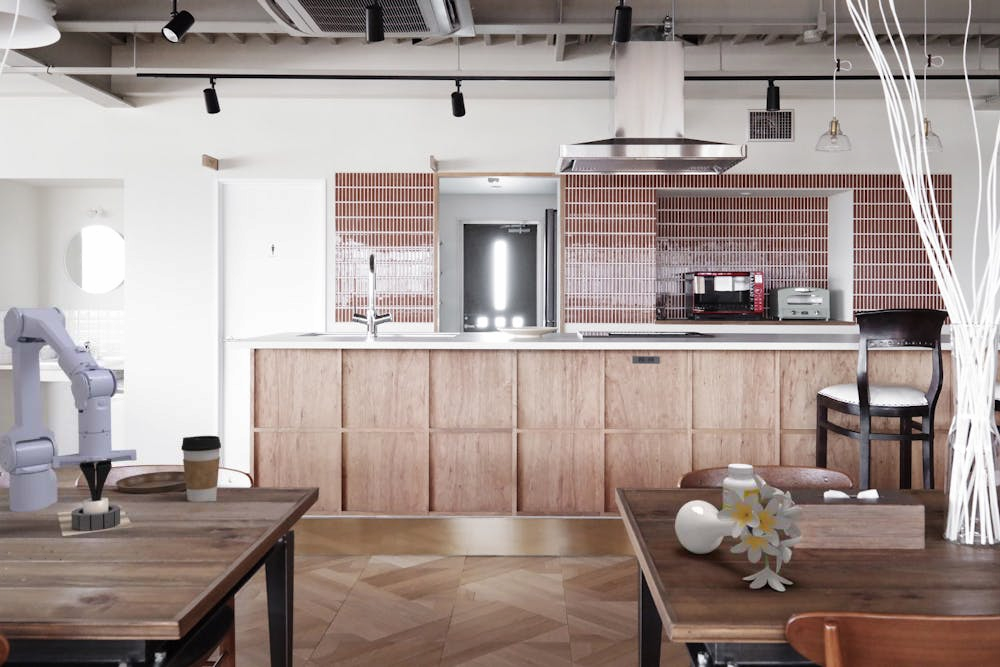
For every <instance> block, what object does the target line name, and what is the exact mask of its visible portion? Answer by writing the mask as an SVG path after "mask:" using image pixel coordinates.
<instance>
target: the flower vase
mask: <svg viewBox="0 0 1000 667" xmlns="http://www.w3.org/2000/svg"><path fill="white" fill-rule="evenodd" d="M750 473H751V472H750ZM751 475H752V478H753V479H754V480H755V482H756V484H757V487H758V493H759V494H760V496H761V497H760V499H759V500H758V503H757V496H756V494H754V493H752V494H750V495H748V496H747V497H746V498H745V500H744V502H743V501H742V500H741V498H740V496H739V495H738V494H737V493H736V492H735V491H734V490H729V491H728V493H727V497H728V501H729V503H730V505H731V506H732V507H733V508H734V509H732V508H727V509H723V508H722V509H721V510H718V509H717V508H716V507H715V506H714V505H713V504H711V503H709V502H707V501H705V500H700V499H699V500H698V499H696V500H690V501H689V502H687V503H684V504H683V505H682V506H681V508H680V509H678V510H679V511H678V512H677V514H676V518H675V521H674V529H675V533H676V536H677V539H678V541H679V542H680V544H681V545H682V546H683V547H684V549H686V550H688V551H690V552H691V553H694V554H697V555H698V554H700V555H704V554H709V553H711V552H712V551H714V550H716V549H717V548H718V547H719V546H720V544H721V543H722V541H723V539H724V537H727V536H732V538H733V539H738V538H739V539H740V540H741V542H740V543H738V544H736V545H734V546H733V547H731V548H730V549H729V550H730V553H732V554H740V553H744V552H746V551H747V559H748V561H749V562H750V563H752V564H756V563H758V562H759V561H760V560H761V558H762V552H763V553H764V558H765V568H764V569H762V570H761V571H758V572H756V573H754V574H750V575H749V576H746V577H743V578H742V580H744V581H752V582H750V584H749V588H750V589H760V588H762V587H764V586H766V584H767V583H768V585H769V586H770V587H771V588H772V589H773V590H776V591H778V592H785V591H786V588H785V586H784V585H783V584H786V585H793V584H794V583H793V582H792V581H790V580H788V579H786V578H784V577H782V576H780V575H778V573H779V571H780V569H781V566H782V562H783V563H784V564H788V563H789V561H790V560H791V558H792V550H791V549H790V548H792V547H795V546H796V545H797V544H798V543H799V542H800V541H801V540H802V538H803V537H804V535H803V533H802V531H801V528H800V527H799V526H798V524H797V523H796V522H795V521H798V520H800V519H801V518H802V517H803V515H804V510H803V508H802V507H800V506H797V505H796V506H795V505H794V506H791V504H792V501H793V499H792V495H791V492H790V491H789V490H788V491H786V493H785V492H784V491H782V490H781V489H779V488H778V487H777V488H776V487H773V486H771V485H769V484H767V482H766V481H765V480H764V479H763V477H761V476H760V475H758V474H756V473H755V474H754V473H753V474H752V473H751ZM765 499H770V500H769V501H768V503H767V505H766V506H765V508H764V507H763V505H762V504H763V503H764V500H765ZM779 499H783V502H782V503H780V501H779ZM776 513H777V515H776ZM777 530H783V531H784V533H785V535H786V536H789V535H790V532H792V533H793V534H794V535H795V536H794V537H791V538H789V539H785V540H781V541H780V537H779V534H778V532H777ZM769 555H770V556H776V571H773V570H772V569H771V568H770V560H769Z"/></svg>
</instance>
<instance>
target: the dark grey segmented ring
mask: <svg viewBox="0 0 1000 667" xmlns="http://www.w3.org/2000/svg"><path fill="white" fill-rule="evenodd" d="M71 511H72V512H71V514H72V530H76V531H96V530H103V529H108V528H112V527H115V526H117V525H119V524H120V507H119V505H116V504H108V511H107V512H103V513H96V514H83V506H82V507H80V508H76V509H73V510H71Z"/></svg>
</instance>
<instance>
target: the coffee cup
mask: <svg viewBox="0 0 1000 667" xmlns="http://www.w3.org/2000/svg"><path fill="white" fill-rule="evenodd" d="M181 444H182V445H181V449H180V450H181V451H182V452H183V453H182V454H183V458H182V463H183V472H185V481H186V488H187V489H186V497H187V501H189V502H193V503H194V502H195V503H196V502H197V503H198V502H199V503H200V502H209V501H210V502H216V501H217V493H218V492H217V491H218V483H219V482H218V481H219V471H220V470H219V469H220V458H221V457H220V449H221V448H222V443H221V440H220V437H219V436H217V435H199V436H198V435H197V436H188V437H187V436H185V437H182V443H181Z"/></svg>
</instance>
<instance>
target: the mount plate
mask: <svg viewBox="0 0 1000 667" xmlns="http://www.w3.org/2000/svg"><path fill="white" fill-rule="evenodd" d="M118 506H119V507H120V524H119V525H117V526H115V527H112V528H108V529H103V530H96V531H76V530H72V514H71V512H72V511H73V510H71V511H69V510H68V511H62V512H57V519H58V522H59V525H60V530H61V535H62V537H68V536H72V535H74V536H75V535H81V534H82V535H83V534H91V533H96V532H98V533H99V532H105V531H111V530H119V529H121V530H122V529H127V528H133V524H132V522H131V521H130V519H129V517H128V516H127V513H126V512H125V511H124V509H123V506H122V505H118Z"/></svg>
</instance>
